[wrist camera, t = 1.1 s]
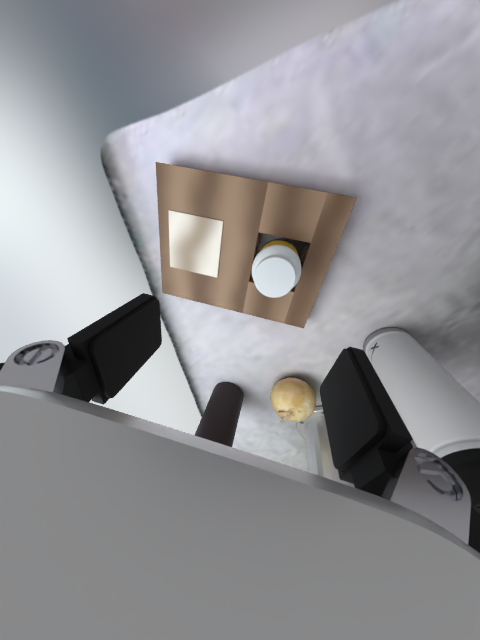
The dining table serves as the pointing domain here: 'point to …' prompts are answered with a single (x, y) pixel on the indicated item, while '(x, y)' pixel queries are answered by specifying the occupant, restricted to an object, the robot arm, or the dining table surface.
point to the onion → (293, 399)
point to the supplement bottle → (276, 268)
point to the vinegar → (221, 414)
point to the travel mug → (429, 403)
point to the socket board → (242, 238)
